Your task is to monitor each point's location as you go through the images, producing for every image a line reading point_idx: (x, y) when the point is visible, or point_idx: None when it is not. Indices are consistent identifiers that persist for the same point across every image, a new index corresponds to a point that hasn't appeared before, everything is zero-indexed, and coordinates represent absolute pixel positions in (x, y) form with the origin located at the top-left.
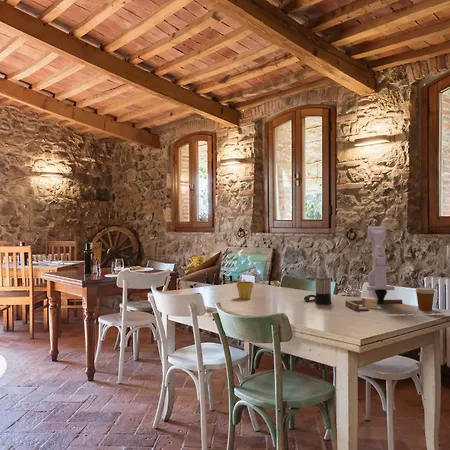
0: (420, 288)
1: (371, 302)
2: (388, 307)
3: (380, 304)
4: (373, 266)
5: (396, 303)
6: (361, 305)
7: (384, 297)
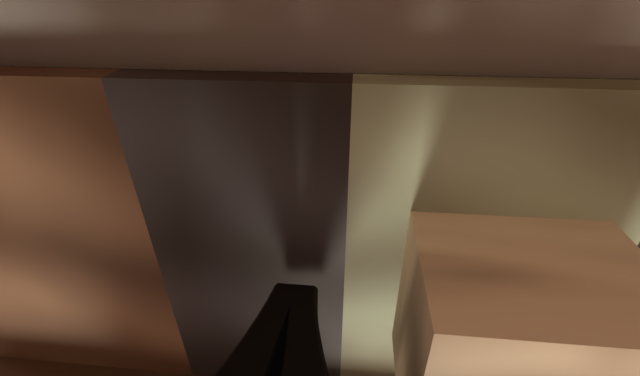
0: None
1: (548, 280)
2: (223, 176)
3: None
4: None
5: (62, 362)
6: None
7: (215, 374)
